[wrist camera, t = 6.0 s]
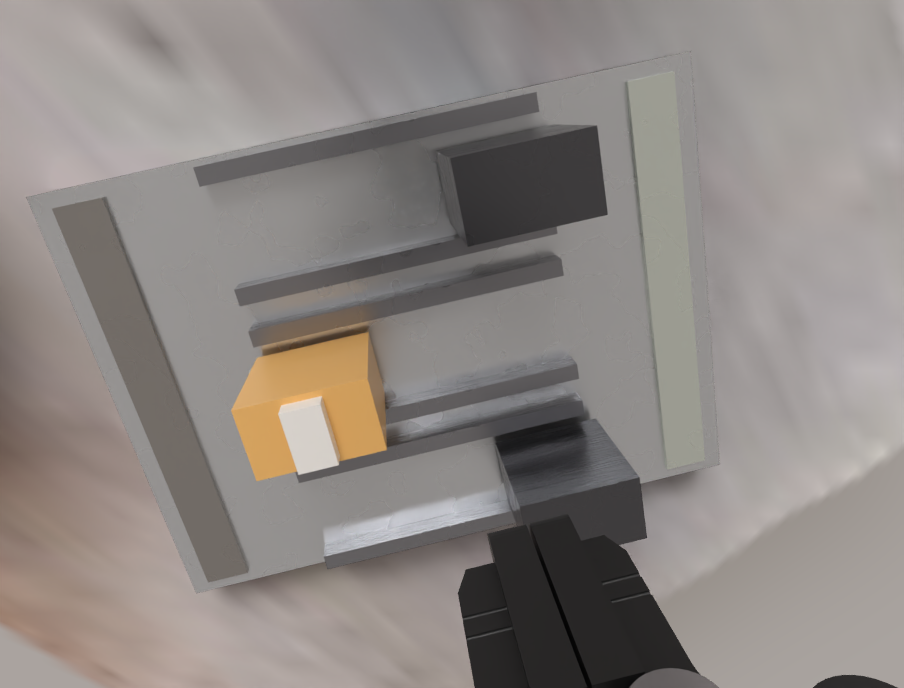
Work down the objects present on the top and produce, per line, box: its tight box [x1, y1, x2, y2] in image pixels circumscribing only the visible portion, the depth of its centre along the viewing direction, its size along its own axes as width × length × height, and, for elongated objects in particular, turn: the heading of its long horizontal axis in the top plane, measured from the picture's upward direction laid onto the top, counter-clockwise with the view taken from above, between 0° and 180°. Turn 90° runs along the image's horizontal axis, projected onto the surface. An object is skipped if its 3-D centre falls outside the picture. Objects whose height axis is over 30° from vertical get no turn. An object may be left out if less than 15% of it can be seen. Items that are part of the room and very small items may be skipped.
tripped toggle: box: [231, 332, 387, 481], centre depth 21 cm, size 2×4×5 cm, turn 102°
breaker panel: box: [26, 51, 720, 593], centre depth 22 cm, size 16×22×7 cm
